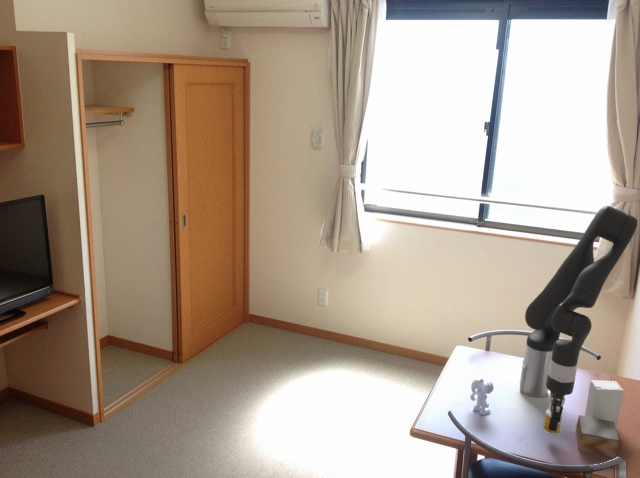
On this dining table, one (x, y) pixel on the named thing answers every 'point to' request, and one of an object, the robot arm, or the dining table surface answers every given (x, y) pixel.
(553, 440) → the dining table surface
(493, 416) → the dining table surface
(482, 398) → the toy figurine
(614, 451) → the walnut block
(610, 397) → the skincare box
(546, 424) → the supplement bottle
